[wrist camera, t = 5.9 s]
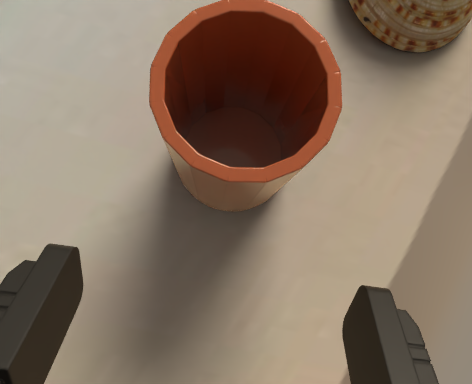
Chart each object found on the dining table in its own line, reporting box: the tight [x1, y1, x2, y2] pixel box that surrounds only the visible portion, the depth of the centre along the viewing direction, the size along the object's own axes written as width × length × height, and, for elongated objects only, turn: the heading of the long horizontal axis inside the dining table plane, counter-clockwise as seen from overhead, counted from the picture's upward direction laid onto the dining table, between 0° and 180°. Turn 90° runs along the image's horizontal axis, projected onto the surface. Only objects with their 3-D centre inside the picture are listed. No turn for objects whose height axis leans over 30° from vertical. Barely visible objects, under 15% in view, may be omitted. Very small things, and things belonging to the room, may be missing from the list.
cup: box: [149, 0, 342, 212], centre depth 18 cm, size 6×6×10 cm
